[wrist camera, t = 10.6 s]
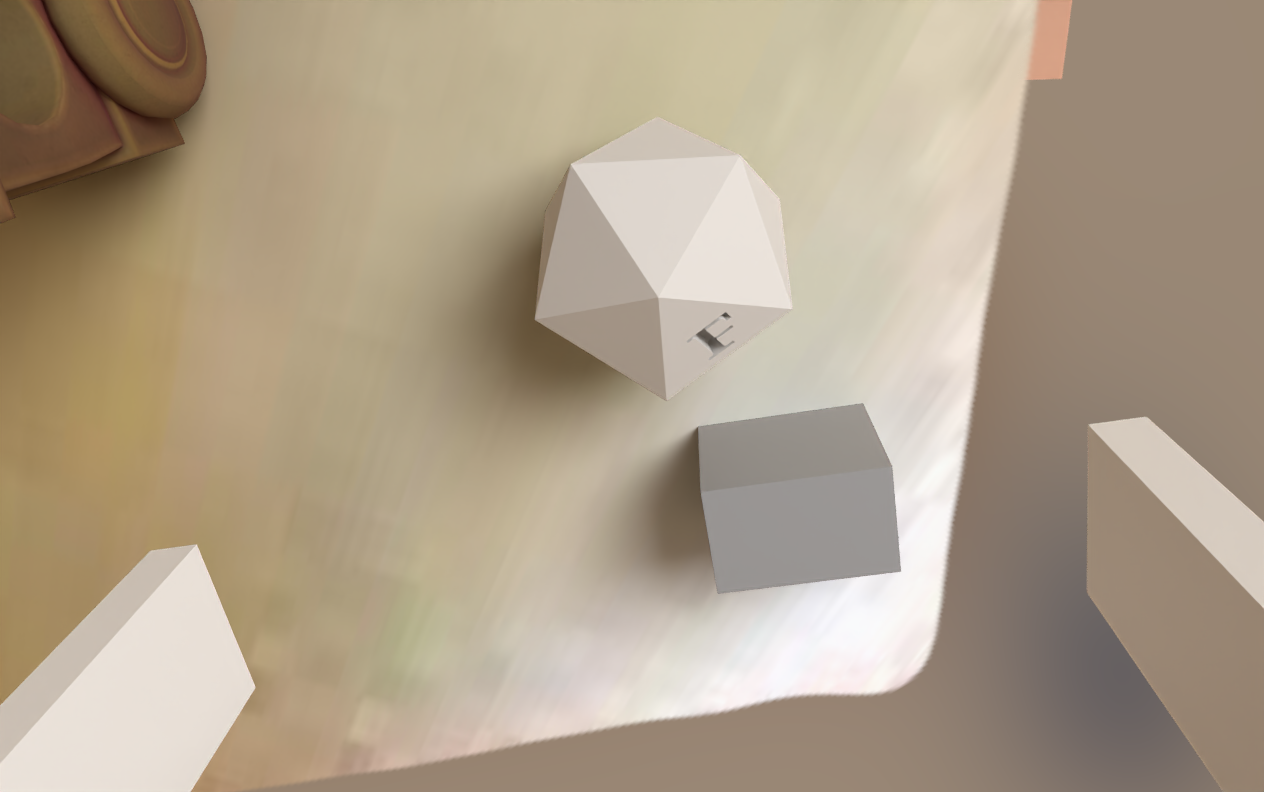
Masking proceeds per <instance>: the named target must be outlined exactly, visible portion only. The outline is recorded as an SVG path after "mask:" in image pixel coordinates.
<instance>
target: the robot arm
mask: <svg viewBox="0 0 1264 792" xmlns="http://www.w3.org/2000/svg"><path fill="white" fill-rule="evenodd" d="M1087 504H1088V506H1087V507H1088V509H1087V513H1088V514H1087V517H1088V518H1087V593H1088V595H1089V596H1090V597H1091V599H1092V600H1093V602H1094V603H1095V605H1096V606H1097V608H1098V609H1099V611H1100V612H1101V613H1102V615H1103V616H1104V618H1105V619H1106V621H1107V622H1108V624H1109V625H1110V627H1111V628H1112V629H1113V631H1114V633H1115V634H1116V636H1117V637H1118V638H1119V640H1120V641H1121V643H1122V644H1123V646H1124V647H1125V649H1126V650H1127V652H1128V653H1129V655H1130V656H1131V657H1132V659H1133V660H1134V662H1135V663H1136V665H1137V666H1138V668H1139V669H1140V671H1141V672H1142V674H1143V675H1144V677H1145V678H1146V680H1147V681H1148V682H1149V684H1150V685H1151V687H1152V688H1153V690H1154V691H1155V693H1156V694H1157V695H1158V697H1159V698H1160V700H1161V701H1162V703H1163V704H1164V706H1165V707H1166V709H1167V710H1168V712H1169V713H1170V715H1171V716H1172V718H1173V719H1174V720H1175V722H1176V723H1177V725H1178V726H1179V728H1180V729H1181V731H1182V732H1183V734H1184V735H1185V737H1186V738H1187V740H1188V741H1189V743H1190V744H1191V745H1192V747H1193V748H1194V750H1195V751H1196V753H1197V754H1198V756H1199V757H1200V759H1201V760H1202V762H1203V763H1204V764H1205V766H1206V767H1207V769H1208V770H1209V772H1210V773H1211V775H1212V776H1213V778H1214V779H1215V781H1216V782H1217V784H1218V785H1219V786H1220V788H1221V789H1222V791H1223V792H1264V522H1263V521H1262V520H1261V519H1260V518H1259V517H1258V516H1257V515H1255V514H1254V513H1253V512H1252V511H1251V510H1250V509H1249V508H1248V507H1247V506H1245V505H1244V504H1243V503H1242V502H1241V501H1240V500H1239V499H1238V498H1236V497H1235V496H1234V495H1233V494H1232V493H1231V492H1230V491H1228V489H1226V488H1225V487H1224V486H1223V485H1222V484H1221V483H1220V482H1219V481H1218V480H1216V479H1215V478H1214V477H1213V476H1212V475H1211V474H1210V473H1209V472H1208V471H1206V470H1205V469H1204V468H1203V467H1202V466H1201V465H1200V464H1198V463H1197V462H1196V461H1195V460H1194V459H1193V458H1192V457H1191V456H1190V455H1189V454H1187V453H1186V452H1185V451H1184V450H1183V449H1182V448H1181V447H1180V446H1178V445H1177V444H1176V443H1175V442H1174V441H1173V440H1172V439H1171V438H1170V437H1169V436H1167V435H1166V434H1165V433H1164V432H1163V431H1162V430H1161V429H1160V428H1158V427H1157V426H1156V425H1155V424H1154V423H1153V422H1152V421H1151V420H1149V419H1148V418H1147V417H1141V418H1134V419H1126V420H1120V421H1112V422H1104V423H1097V424H1089V425H1088V502H1087ZM255 688H256V687H255V685H254V683H253V680H252V678H251V675H250V673H249V670H248V668H247V666H246V663H245V661H244V658H243V656H242V653H241V651H240V649H239V646H238V644H237V641H236V639H235V636H234V634H233V632H232V629H231V627H230V624H229V622H228V619H227V617H226V614H225V612H224V610H223V607H222V605H221V602H220V600H219V597H218V595H217V593H216V590H215V588H214V585H213V583H212V580H211V578H210V576H209V573H208V571H207V568H206V566H205V563H204V561H203V559H202V556H201V554H200V551H199V549H198V546H197V544H196V545H189V546H181V547H174V548H166V549H159V550H152V551H150V552H149V553H148V554H147V555H146V556H145V557H144V558H143V559H142V560H141V561H140V562H139V563H138V564H137V565H136V566H135V567H134V568H133V569H132V570H131V571H130V572H129V573H128V574H127V575H126V576H125V577H124V578H123V579H122V580H121V581H120V582H119V584H118V585H117V586H116V587H115V588H114V589H113V590H112V591H111V592H110V593H109V594H108V595H107V596H106V597H105V598H104V599H103V600H102V601H101V602H100V603H99V604H98V605H97V606H96V607H95V608H94V609H93V610H92V611H91V612H90V613H89V614H88V615H87V616H86V618H85V619H84V620H83V621H82V622H81V623H80V624H79V625H78V626H77V627H76V628H75V629H74V630H73V631H72V632H71V633H70V634H69V635H68V636H67V637H66V638H65V639H64V640H63V641H62V642H61V643H60V644H59V645H58V646H57V647H56V648H55V649H54V650H53V651H52V653H51V654H50V655H49V656H48V657H47V658H46V659H45V660H44V661H43V662H42V663H41V664H40V665H39V666H38V667H37V668H36V669H35V670H34V671H33V672H32V673H31V674H30V675H29V676H28V677H27V678H26V679H25V680H24V681H23V682H22V683H21V684H20V685H19V686H18V688H17V689H16V690H15V691H14V692H13V693H12V694H11V695H10V696H9V697H8V698H7V699H6V700H5V701H4V702H3V703H2V704H1V705H0V792H191V790H192V789H193V787H194V785H195V784H196V782H197V781H198V779H199V777H200V776H201V774H202V773H203V771H204V769H205V768H206V766H207V765H208V763H209V761H210V760H211V758H212V757H213V755H214V753H215V752H216V750H217V748H218V747H219V745H220V744H221V742H222V740H223V739H224V737H225V736H226V734H227V732H228V731H229V729H230V728H231V726H232V724H233V723H234V721H235V720H236V718H237V716H238V715H239V713H240V712H241V710H242V708H243V707H244V705H245V704H246V702H247V700H248V699H249V697H250V696H251V694H252V692H253V691H254V689H255Z"/></svg>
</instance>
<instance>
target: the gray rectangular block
mask: <svg viewBox="0 0 1264 792" xmlns="http://www.w3.org/2000/svg"><path fill="white" fill-rule="evenodd" d="M698 439H699V464H700V490H701V498H702V504H703V509H704V515H705V521H706V527H707V533H708V539H709V545H710V551H711V557H712V562H713V568H714V574H715V580H716V586H717V592H718V594H720V593H728V592H736V591H745V590H753V589H761V588H769V587H778V586H786V585H794V584H802V583H811V582H819V581H827V580H835V579H844V578H852V577H860V576H868V575H877V574H885V573H893V572H901V566H900V554H899V542H898V530H897V518H896V506H895V494H894V482H893V470H892V465H891V463H890V461H889V459H888V456H887V454H886V452H885V450H884V448H883V446H882V443H881V441H880V439H879V437H878V435H877V433H876V430H875V428H874V426H873V424H872V422H871V420H870V417H869V415H868V413H867V411H866V409H865V407H864V404H863V403H862V404H855V405H848V406H841V407H833V408H826V409H819V410H812V411H805V412H798V413H791V414H784V415H777V416H770V417H763V418H756V419H749V420H741V421H734V422H727V423H720V424H713V425H706V426H699V427H698Z"/></svg>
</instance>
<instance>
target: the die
mask: <svg viewBox="0 0 1264 792" xmlns="http://www.w3.org/2000/svg"><path fill="white" fill-rule="evenodd" d="M792 309H793V307H792V299H791V290H790V282H789V273H788V265H787V256H786V248H785V239H784V231H783V222H782V214H781V205H780V199H779V198H778V197H777V195H776V194H775V193H774V192H773V191H772V190H771V189H770V188H769V187H768V185H767V184H766V183H765V182H764V181H763V180H762V179H761V178H760V177H759V175H758V174H757V173H756V172H755V171H754V170H753V169H752V168H751V167H750V165H749V164H748V163H747V162H746V161H745V160H744V159H743V158H742V157H741V155H739V154H737V153H735V152H732V151H730V150H728V149H726V148H724V147H722V146H720V145H717V144H715V143H713V142H711V141H709V140H707V139H705V138H702V137H700V136H698V135H696V134H694V133H692V132H690V131H687V130H685V129H683V128H681V127H679V126H677V125H675V124H672V123H670V122H668V121H666V120H664V119H662V118H659V117H656V118H654V119H652V120H650V121H648V122H646V123H645V124H643V125H641V126H639V127H637V128H636V129H634V130H632V131H630V132H628V133H626V134H625V135H623V136H621V137H619V138H617V139H615V140H614V141H612V142H610V143H608V144H606V145H605V146H603V147H601V148H599V149H597V150H595V151H594V152H592V153H590V154H588V155H586V156H585V157H583V158H581V159H579V160H577V161H575V162H574V163H572V164H570V166H569V168H568V170H567V172H566V174H565V175H564V177H563V179H562V181H561V183H560V185H559V186H558V188H557V190H556V192H555V194H554V196H553V197H552V199H551V201H550V203H549V205H548V207H547V208H546V210H545V219H544V229H543V239H542V250H541V260H540V270H539V280H538V291H537V301H536V311H535V320H536V321H538V322H539V323H541V324H542V325H544V326H546V327H547V328H549V329H550V330H552V331H554V332H555V333H557V334H559V335H560V336H562V337H563V338H565V339H567V340H568V341H570V342H572V343H573V344H575V345H576V346H578V347H580V348H581V349H583V350H585V351H586V352H588V353H589V354H591V355H593V356H594V357H596V358H598V359H599V360H601V361H602V362H604V363H606V364H607V365H609V366H610V367H612V368H614V369H615V370H617V371H619V372H620V373H622V374H623V375H625V376H627V377H628V378H630V379H632V380H633V381H635V382H636V383H638V384H640V385H641V386H643V387H645V388H646V389H648V390H649V391H651V392H653V393H654V394H656V395H658V396H659V397H661V398H662V399H664V400H666V401H667V400H669V399H670V398H672V397H673V396H674V395H676V394H677V393H678V392H680V391H681V390H683V389H684V388H685V387H687V386H688V385H689V384H691V383H692V382H694V381H695V380H696V379H698V378H699V377H700V376H702V375H703V374H704V373H706V372H707V371H709V370H710V369H711V368H713V367H714V366H715V365H717V364H718V363H720V362H721V361H722V360H724V359H725V358H726V357H728V356H729V355H731V354H732V353H733V352H735V351H736V350H737V349H739V348H740V347H741V346H743V345H744V344H746V343H747V342H748V341H750V340H751V339H752V338H754V337H755V336H757V335H758V334H759V333H761V332H762V331H763V330H765V329H766V328H768V327H769V326H770V325H772V324H773V323H774V322H776V321H777V320H778V319H780V318H781V317H783V316H784V315H785V314H787V313H788V312H789V311H791V310H792Z"/></svg>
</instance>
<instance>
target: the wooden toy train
mask: <svg viewBox="0 0 1264 792" xmlns="http://www.w3.org/2000/svg"><path fill="white" fill-rule="evenodd" d="M206 60H207V56H206V51H205V46H204V41H203V36H202V32H201V29H200V26H199V23H198V20H197V18H196V15H195V12H194V9H193V7H192V5H191V3H190V1H189V0H0V223H3V222H5V221H8V220H10V219H13V218H15V214H14V212H13V209H12V207H11V204H10V202H9V200H11V199H15V198H18V197H21V196H24V195H27V194H30V193H33V192H36V191H39V190H43V189H46V188H49V187H52V186H55V185H58V184H61V183H64V182H67V181H71V180H74V179H77V178H80V177H83V176H86V175H89V174H92V173H95V172H99V171H102V170H105V169H108V168H111V167H114V166H117V165H120V164H123V163H126V162H130V161H133V160H136V159H139V158H142V157H145V156H148V155H151V154H154V153H158V152H161V151H164V150H167V149H170V148H173V147H176V146H179V145H182V144H185V143H184V140H183V138H182V136H181V134H180V132H179V129H178V127H177V125H176V123H175V121H174V118H177V117H178V116H180V115H182V114H183V113H185V112H187V111H188V110H189V109H190V108H191V107H192V106H193V105H194V104H195V102H196V101H197V100H198V98H199V96H200V93H201V91H202V89H203V86H204V83H205V79H206Z"/></svg>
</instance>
